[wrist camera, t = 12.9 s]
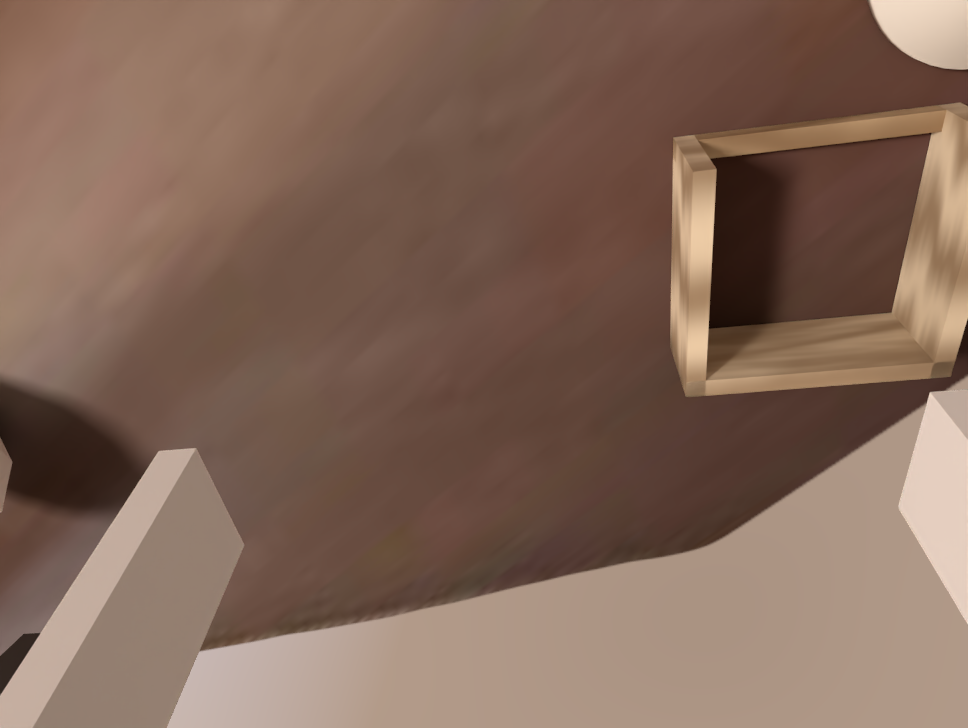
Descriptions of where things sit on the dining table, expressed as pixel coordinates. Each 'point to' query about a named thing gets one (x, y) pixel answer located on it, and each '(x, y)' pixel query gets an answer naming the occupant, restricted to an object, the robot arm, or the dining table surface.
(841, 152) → the dining table surface
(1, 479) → the geodesic sphere
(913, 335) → the shelf bay
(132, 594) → the robot arm
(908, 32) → the cream flat disc
